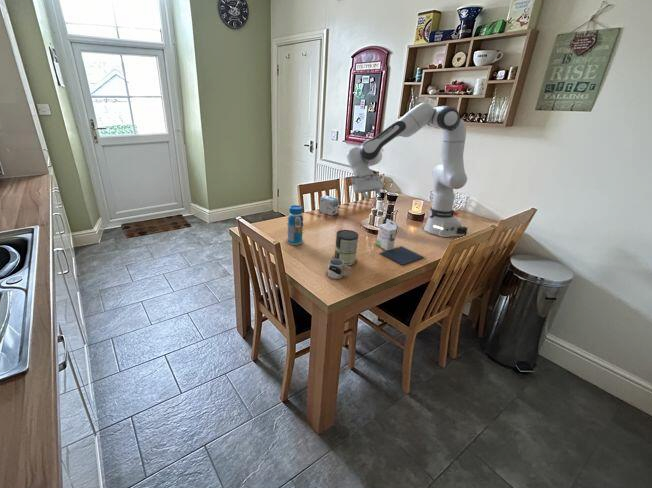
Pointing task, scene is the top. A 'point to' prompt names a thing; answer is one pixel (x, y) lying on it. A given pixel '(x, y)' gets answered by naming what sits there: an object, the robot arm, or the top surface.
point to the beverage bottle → (295, 225)
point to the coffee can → (346, 246)
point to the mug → (337, 269)
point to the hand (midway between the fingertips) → (373, 198)
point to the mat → (402, 255)
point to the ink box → (387, 235)
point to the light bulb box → (329, 205)
